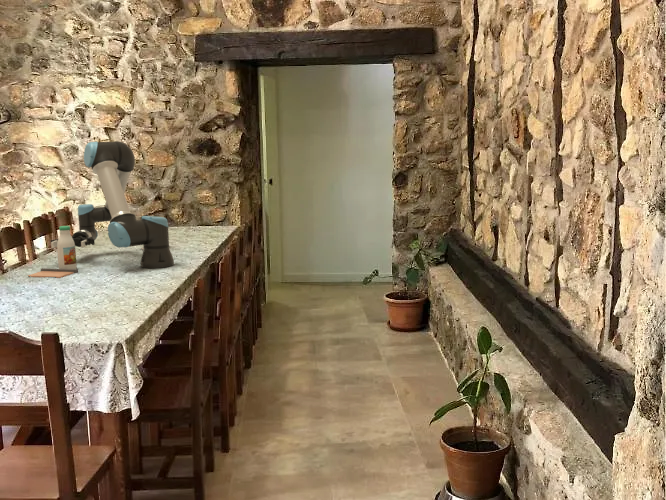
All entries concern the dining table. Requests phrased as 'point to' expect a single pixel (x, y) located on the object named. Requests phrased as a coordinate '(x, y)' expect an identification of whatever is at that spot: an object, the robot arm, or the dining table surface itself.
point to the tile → (50, 274)
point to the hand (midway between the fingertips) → (67, 245)
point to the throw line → (60, 270)
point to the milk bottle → (66, 249)
